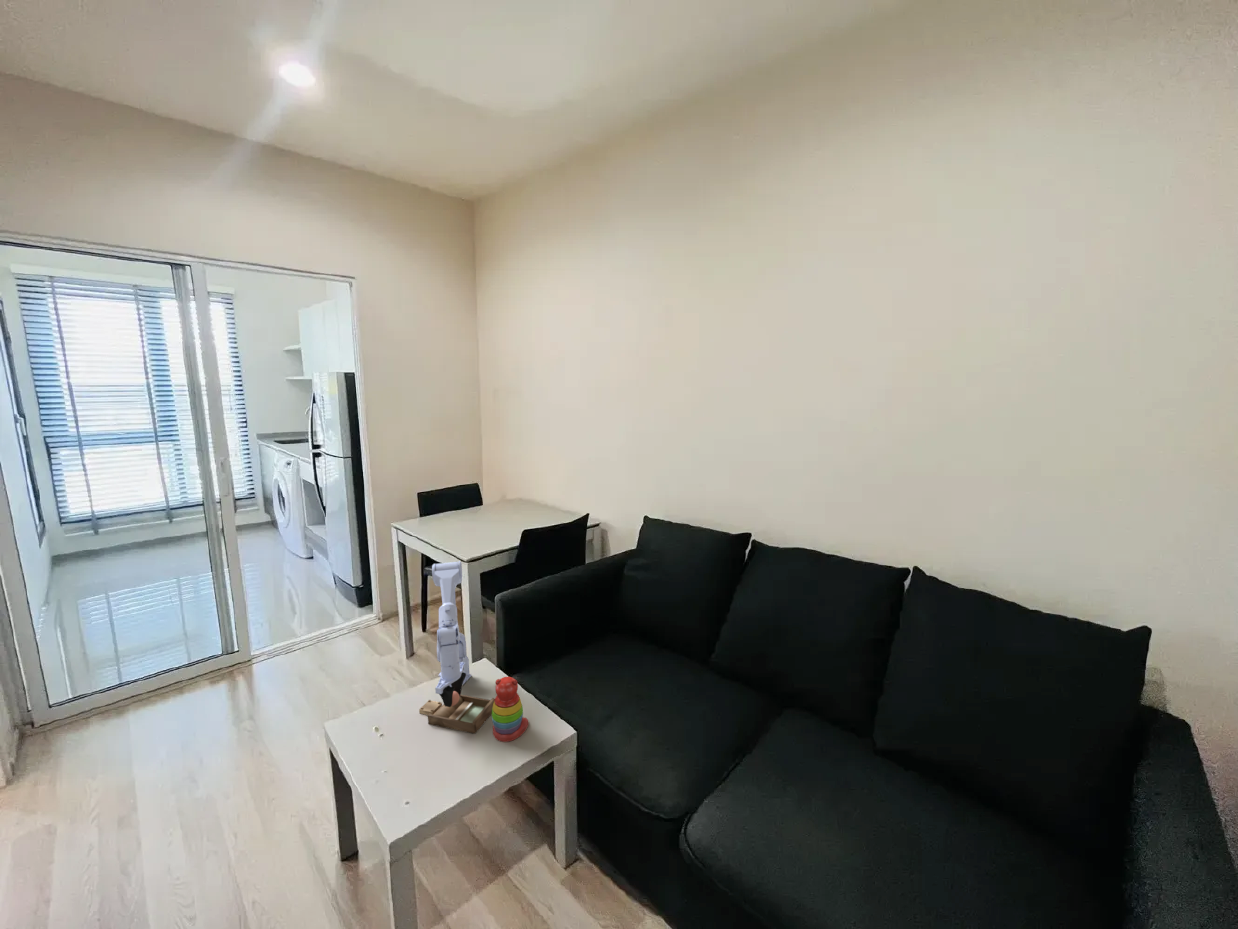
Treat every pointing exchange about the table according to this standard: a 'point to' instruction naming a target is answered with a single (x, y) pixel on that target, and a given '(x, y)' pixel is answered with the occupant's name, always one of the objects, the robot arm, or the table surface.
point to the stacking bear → (508, 711)
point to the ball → (455, 698)
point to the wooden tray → (463, 714)
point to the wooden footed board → (430, 707)
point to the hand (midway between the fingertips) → (452, 700)
